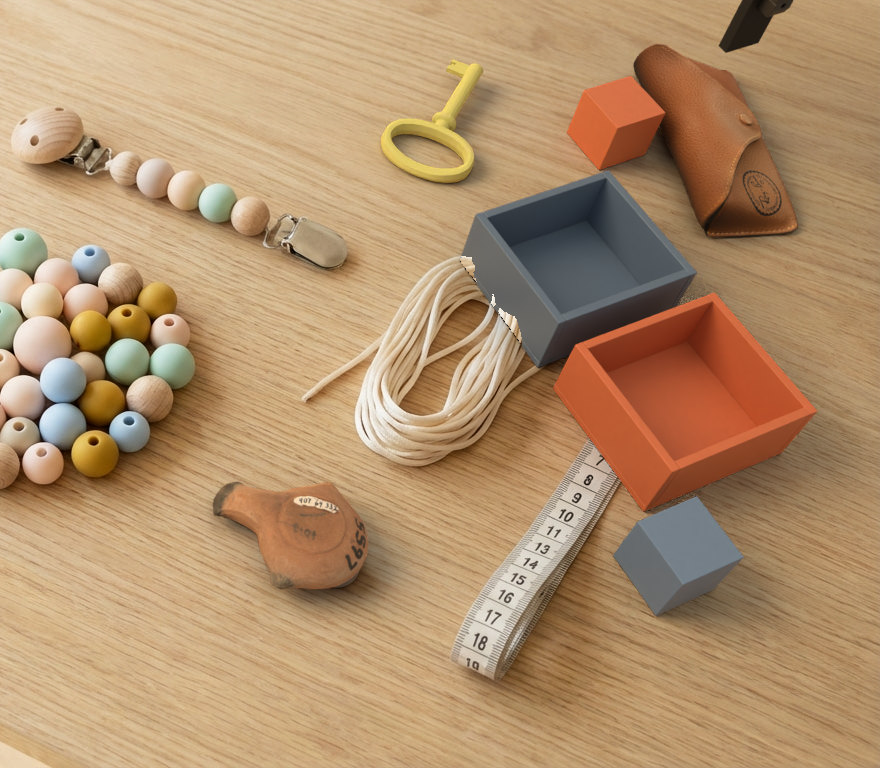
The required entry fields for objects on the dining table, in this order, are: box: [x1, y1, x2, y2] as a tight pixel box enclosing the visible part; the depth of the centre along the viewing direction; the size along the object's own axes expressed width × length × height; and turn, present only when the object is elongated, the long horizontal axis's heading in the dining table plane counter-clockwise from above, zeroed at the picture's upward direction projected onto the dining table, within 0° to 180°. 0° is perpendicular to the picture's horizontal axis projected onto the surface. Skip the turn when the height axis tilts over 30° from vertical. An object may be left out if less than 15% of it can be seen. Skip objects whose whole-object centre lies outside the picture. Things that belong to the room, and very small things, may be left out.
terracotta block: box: [566, 75, 665, 171], centre depth 93 cm, size 4×4×4 cm
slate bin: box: [460, 170, 698, 368], centre depth 85 cm, size 11×10×5 cm
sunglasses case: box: [632, 43, 799, 239], centre depth 94 cm, size 18×7×7 cm
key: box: [380, 58, 484, 184], centre depth 95 cm, size 7×12×2 cm, turn 169°
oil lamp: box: [212, 481, 369, 590], centre depth 73 cm, size 9×4×8 cm
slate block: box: [612, 496, 745, 617], centre depth 72 cm, size 4×4×4 cm
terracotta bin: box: [552, 292, 818, 512], centre depth 79 cm, size 11×10×5 cm
